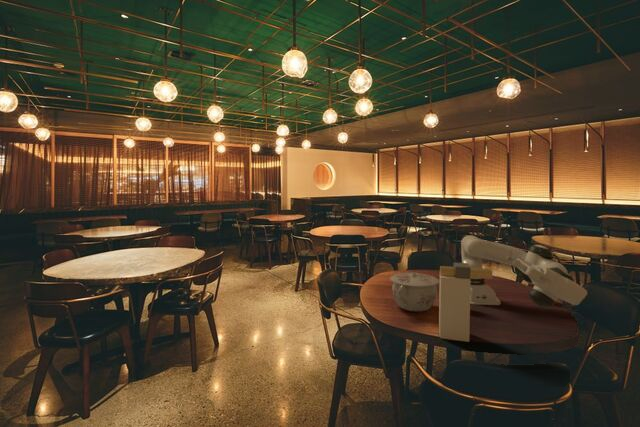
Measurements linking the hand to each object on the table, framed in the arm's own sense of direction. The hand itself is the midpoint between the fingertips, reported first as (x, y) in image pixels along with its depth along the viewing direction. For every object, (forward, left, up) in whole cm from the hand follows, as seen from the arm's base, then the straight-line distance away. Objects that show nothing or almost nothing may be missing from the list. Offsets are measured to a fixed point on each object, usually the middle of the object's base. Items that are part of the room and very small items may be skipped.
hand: (510, 259), depth 132 cm
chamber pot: (+41, -31, -37) cm, 63 cm away
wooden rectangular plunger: (+18, 0, -8) cm, 20 cm away
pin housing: (+22, 0, -36) cm, 43 cm away
